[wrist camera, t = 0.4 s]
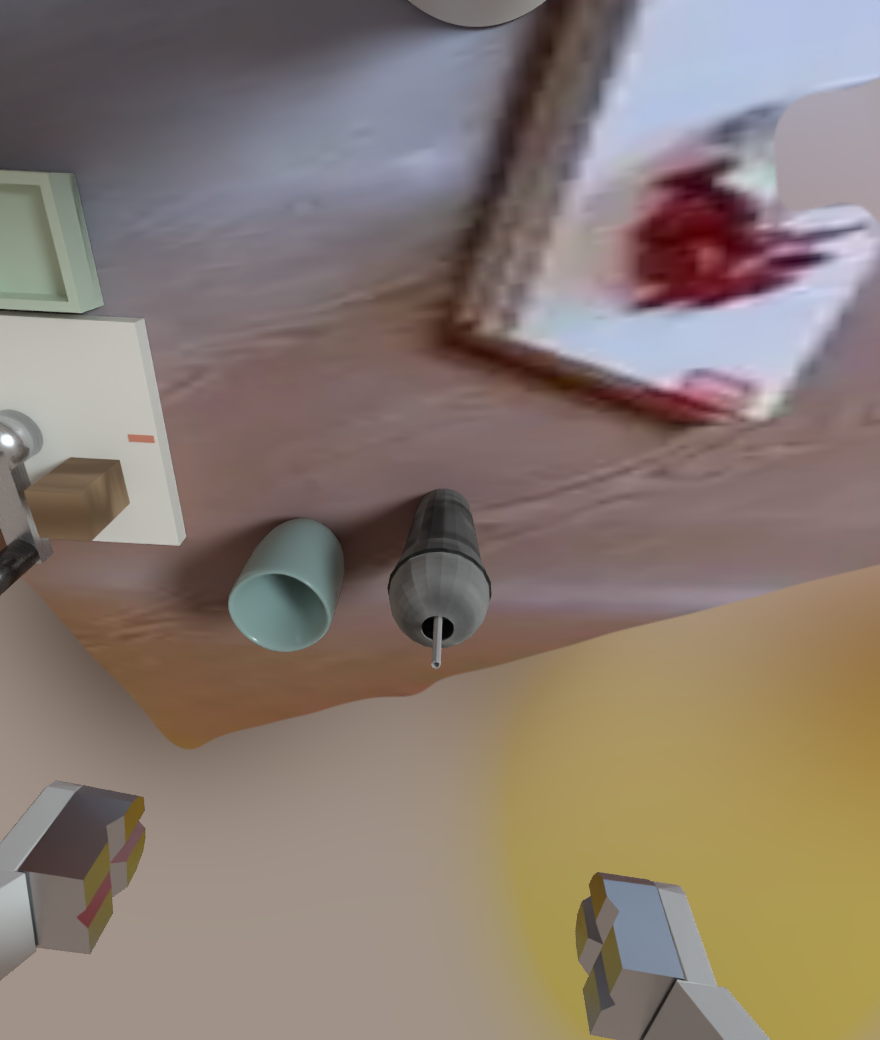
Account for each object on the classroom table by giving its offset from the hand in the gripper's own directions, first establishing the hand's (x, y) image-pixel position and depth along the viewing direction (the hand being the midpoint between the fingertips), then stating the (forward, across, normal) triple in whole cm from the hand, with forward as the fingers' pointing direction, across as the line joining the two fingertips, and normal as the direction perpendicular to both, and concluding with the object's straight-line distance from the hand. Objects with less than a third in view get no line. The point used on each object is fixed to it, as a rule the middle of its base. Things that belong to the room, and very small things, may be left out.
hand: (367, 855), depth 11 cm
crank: (+38, +32, +13) cm, 51 cm away
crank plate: (+39, +29, +8) cm, 50 cm away
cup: (+41, +10, +16) cm, 45 cm away
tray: (+38, +31, -6) cm, 49 cm away
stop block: (+38, +27, +12) cm, 48 cm away
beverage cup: (+41, -2, +10) cm, 42 cm away
